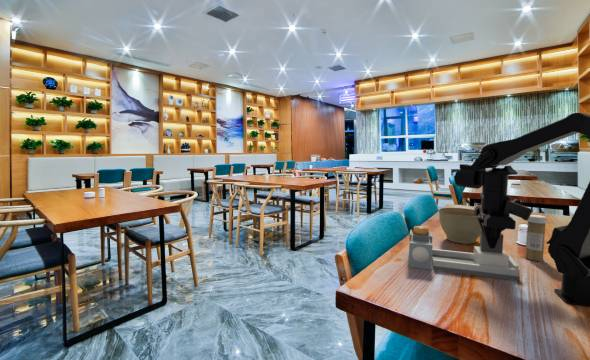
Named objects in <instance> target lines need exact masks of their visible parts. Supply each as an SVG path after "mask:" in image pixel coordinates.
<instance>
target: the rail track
mask: <svg viewBox="0 0 590 360" xmlns="http://www.w3.org/2000/svg"><path fill="white" fill-rule="evenodd" d="M473 255H474V252H465V251H457V250H447V249H437V248H432V267H433V268H432V269H433V271H438V272H439V271H441V272H446V273H455V274H460V275H461V274H464V275H469V276H477V277H486V278H491V279H492V278H493V279H500V280H509V281H516V282H517V281H518V282H520V280H521V277H520V268H519V267H520V266H519V264H518V263H517V262H516V261H515V260H514V259H513V257H511V255H509V254H507V255H508V256H509V264H508V268H505V267H497V266H488V265H480V264H475V262H474V260H473Z"/></svg>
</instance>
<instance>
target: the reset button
mask: <svg viewBox="0 0 590 360" xmlns="http://www.w3.org/2000/svg"><path fill="white" fill-rule="evenodd" d="M413 230H414V234H415V235H425V236H428V231H429V227H428V226H423V225H415V226H413Z"/></svg>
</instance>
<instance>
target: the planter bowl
mask: <svg viewBox="0 0 590 360" xmlns="http://www.w3.org/2000/svg"><path fill="white" fill-rule="evenodd" d="M474 210H475V209H471V208H463V207H442V208H438V214H439V215H438V216H439V217H438V218H439V223H440V226H441V228H442V231H443V232H444V234H445V235H446V239H447V240H449V241H450V242H454V243H459V244H466V245H468V244H470V245H471V244H475V243H477V240H478V239H479V238H480V231H481V232H482V229H481V227H480V224H479V222H478V220H477V218H481V214H478V216H477V215H475V214H474Z"/></svg>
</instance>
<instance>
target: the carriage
mask: <svg viewBox="0 0 590 360" xmlns="http://www.w3.org/2000/svg"><path fill="white" fill-rule="evenodd" d="M473 253H474V255H473V260H474V262H475V264H480V265H488V266H497V267H505V268H508V264H509V256H510V255H509V254H507V252H506V251H505V250H504V234H503V232H501V234H500V236H499V239H498V241H497V244H496V246H495V248H494V249H492V248H490V247H489V244H488V241H487V239H486V236H485V233H484V232H481V231H480V237H479V245H478V246H477V245H474V246H473ZM508 255H509V256H508Z"/></svg>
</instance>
